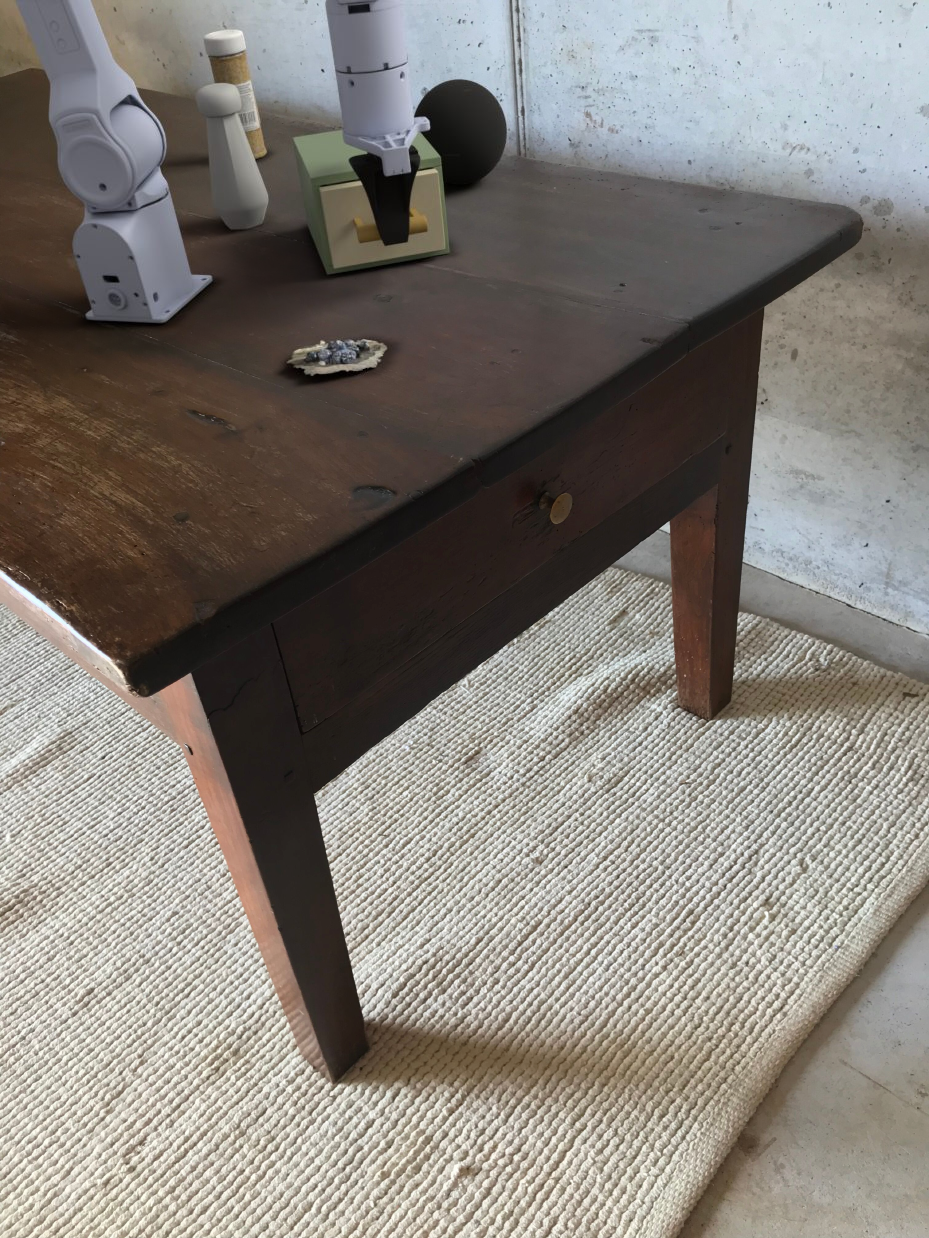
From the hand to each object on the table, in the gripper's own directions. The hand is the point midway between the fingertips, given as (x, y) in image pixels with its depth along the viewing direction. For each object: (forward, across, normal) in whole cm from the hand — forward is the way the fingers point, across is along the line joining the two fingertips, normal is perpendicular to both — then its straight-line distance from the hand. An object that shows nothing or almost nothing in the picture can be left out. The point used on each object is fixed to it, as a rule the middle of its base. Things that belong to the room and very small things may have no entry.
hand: (394, 241), depth 88 cm
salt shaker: (+3, +24, +12) cm, 27 cm away
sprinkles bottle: (+3, +48, +10) cm, 49 cm away
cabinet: (+4, +12, 0) cm, 13 cm away
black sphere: (+3, +25, -12) cm, 28 cm away
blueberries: (+4, -13, +7) cm, 15 cm away
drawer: (+3, +8, 0) cm, 9 cm away
